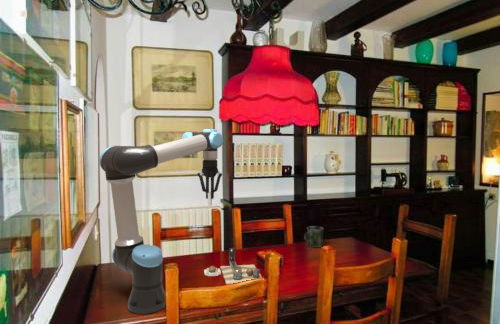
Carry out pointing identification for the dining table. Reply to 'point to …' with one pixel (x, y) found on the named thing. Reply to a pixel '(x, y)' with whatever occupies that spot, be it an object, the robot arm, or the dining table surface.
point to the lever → (234, 263)
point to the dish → (212, 273)
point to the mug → (314, 236)
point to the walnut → (249, 271)
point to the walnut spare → (212, 269)
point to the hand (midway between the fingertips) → (209, 205)
